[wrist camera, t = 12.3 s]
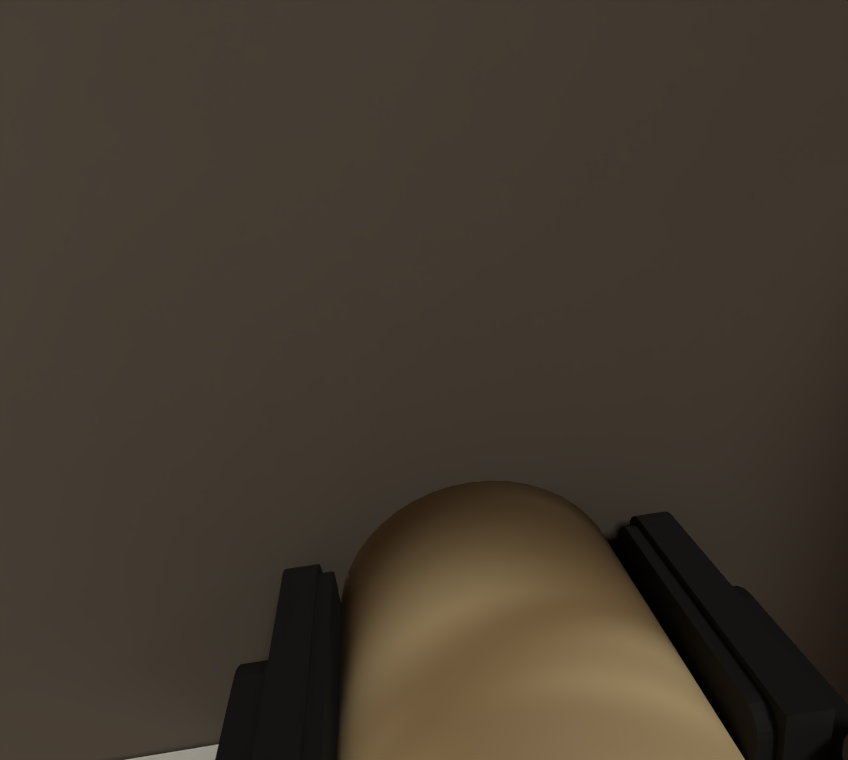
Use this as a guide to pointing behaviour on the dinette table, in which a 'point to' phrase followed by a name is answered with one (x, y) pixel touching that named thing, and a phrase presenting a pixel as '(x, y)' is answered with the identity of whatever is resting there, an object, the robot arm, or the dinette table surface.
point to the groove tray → (185, 754)
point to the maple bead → (508, 641)
